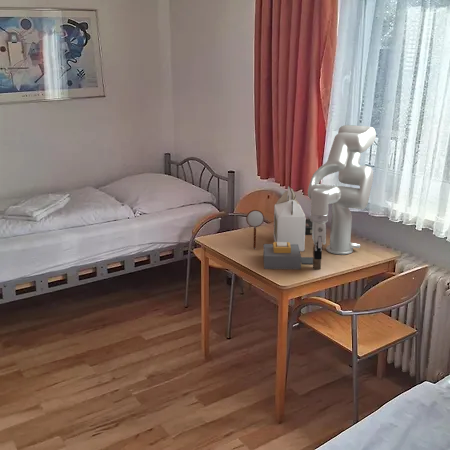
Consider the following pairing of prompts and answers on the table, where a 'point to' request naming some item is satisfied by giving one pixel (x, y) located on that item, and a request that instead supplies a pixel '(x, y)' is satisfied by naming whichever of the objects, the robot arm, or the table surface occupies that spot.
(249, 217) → the magnifying glass
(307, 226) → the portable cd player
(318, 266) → the brown cylinder
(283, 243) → the button
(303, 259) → the pad
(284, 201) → the gable box
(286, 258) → the box
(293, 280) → the table surface
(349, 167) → the robot arm
